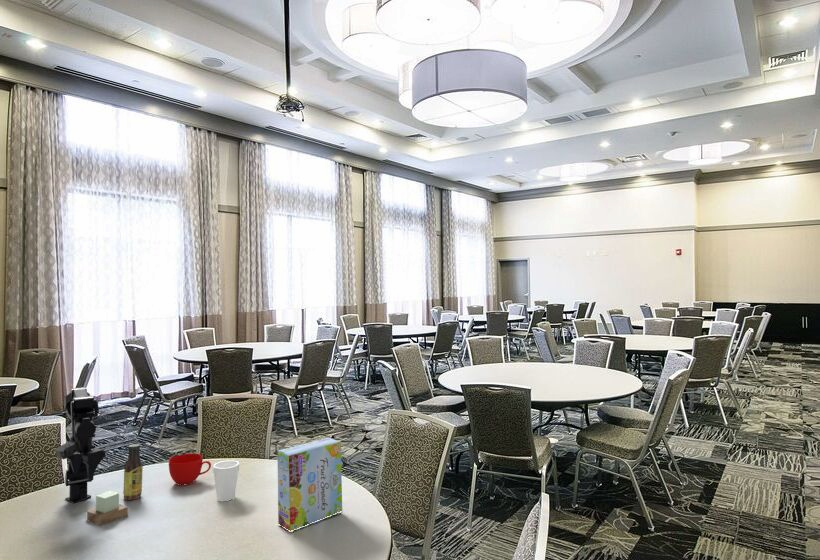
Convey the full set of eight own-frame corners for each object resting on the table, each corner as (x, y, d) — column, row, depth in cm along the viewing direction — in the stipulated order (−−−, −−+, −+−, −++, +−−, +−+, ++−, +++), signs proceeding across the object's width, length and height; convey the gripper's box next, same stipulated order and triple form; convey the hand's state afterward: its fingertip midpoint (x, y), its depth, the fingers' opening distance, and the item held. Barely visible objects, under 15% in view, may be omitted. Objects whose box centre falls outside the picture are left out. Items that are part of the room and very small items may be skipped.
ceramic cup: (204, 488, 206) (204, 463, 206) (162, 488, 206) (162, 463, 206) (216, 477, 219) (216, 453, 219) (177, 476, 219) (177, 453, 219)
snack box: (328, 506, 189) (329, 436, 189) (343, 514, 182) (343, 441, 183) (276, 525, 173) (276, 449, 174) (289, 534, 167) (290, 454, 168)
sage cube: (95, 510, 178) (96, 495, 178) (110, 504, 183) (110, 490, 183) (104, 513, 176) (104, 498, 176) (118, 507, 181) (118, 493, 181)
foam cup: (207, 501, 193) (207, 466, 194) (224, 492, 202) (225, 459, 202) (227, 505, 190) (227, 469, 190) (244, 495, 198) (244, 462, 199)
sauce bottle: (133, 501, 193) (134, 448, 193) (119, 500, 194) (120, 447, 195) (145, 494, 199) (146, 443, 200) (132, 493, 201) (132, 442, 201)
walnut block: (86, 521, 178) (87, 511, 178) (112, 511, 185) (112, 501, 185) (101, 527, 173) (101, 516, 173) (127, 517, 181) (127, 507, 181)
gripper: (44, 434, 182) (44, 478, 181) (73, 441, 173) (72, 488, 172) (78, 426, 191) (77, 468, 191) (106, 433, 182) (106, 477, 182)
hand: (82, 475), depth 184 cm, fingers open, 9 cm apart
